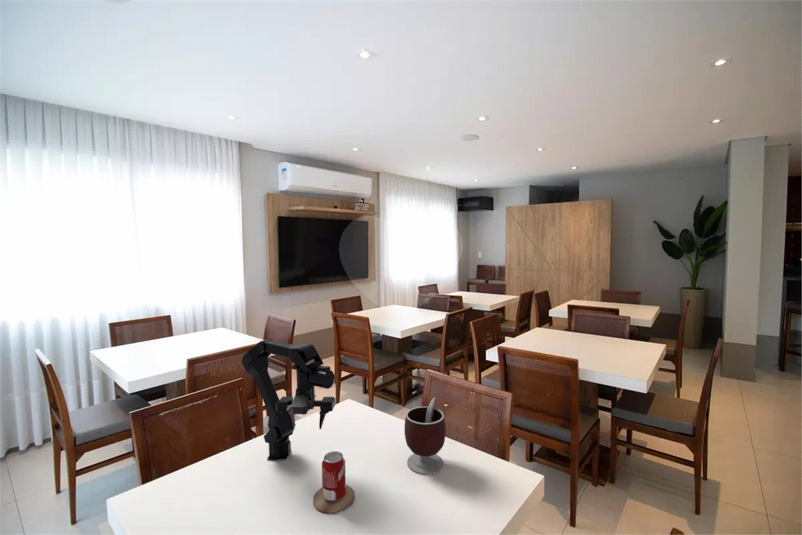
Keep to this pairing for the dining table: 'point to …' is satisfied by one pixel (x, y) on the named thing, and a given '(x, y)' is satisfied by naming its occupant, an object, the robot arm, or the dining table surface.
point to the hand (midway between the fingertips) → (306, 428)
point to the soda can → (333, 476)
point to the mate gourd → (425, 438)
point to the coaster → (335, 506)
